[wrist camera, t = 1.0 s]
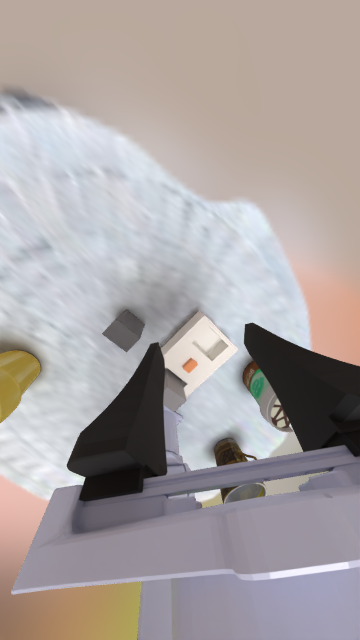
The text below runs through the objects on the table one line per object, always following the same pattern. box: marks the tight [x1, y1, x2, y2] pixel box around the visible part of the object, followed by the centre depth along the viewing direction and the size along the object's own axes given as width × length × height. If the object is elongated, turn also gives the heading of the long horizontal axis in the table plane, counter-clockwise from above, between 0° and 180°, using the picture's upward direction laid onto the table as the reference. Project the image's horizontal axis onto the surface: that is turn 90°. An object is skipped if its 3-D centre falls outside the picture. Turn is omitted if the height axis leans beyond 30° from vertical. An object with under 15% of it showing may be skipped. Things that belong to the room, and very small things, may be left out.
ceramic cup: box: [214, 438, 267, 504], centre depth 35 cm, size 13×10×10 cm
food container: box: [243, 360, 293, 432], centre depth 30 cm, size 12×6×10 cm, turn 0°
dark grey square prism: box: [102, 310, 145, 352], centre depth 24 cm, size 3×4×7 cm
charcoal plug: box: [163, 368, 186, 412], centre depth 27 cm, size 3×4×7 cm
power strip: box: [161, 311, 238, 397], centre depth 29 cm, size 17×10×5 cm, turn 134°
